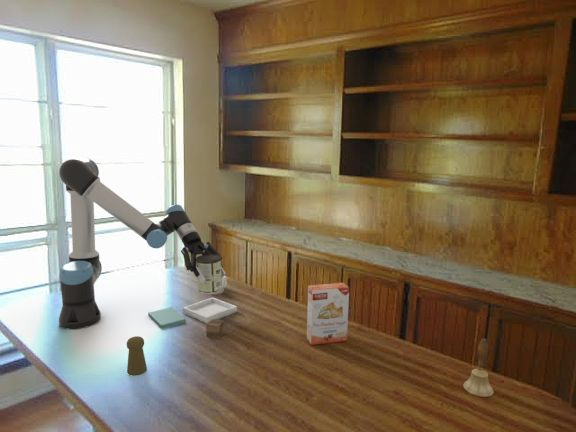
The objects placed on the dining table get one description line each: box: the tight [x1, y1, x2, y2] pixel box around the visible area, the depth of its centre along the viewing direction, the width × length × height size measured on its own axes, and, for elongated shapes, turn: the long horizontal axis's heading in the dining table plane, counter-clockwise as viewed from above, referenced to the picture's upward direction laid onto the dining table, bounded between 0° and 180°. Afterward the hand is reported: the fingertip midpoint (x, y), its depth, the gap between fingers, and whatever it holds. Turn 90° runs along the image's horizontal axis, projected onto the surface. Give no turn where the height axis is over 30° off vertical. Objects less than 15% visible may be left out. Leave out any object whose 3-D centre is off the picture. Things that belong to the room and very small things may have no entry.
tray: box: [182, 296, 238, 324], centre depth 182 cm, size 16×16×2 cm
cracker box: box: [306, 282, 350, 346], centre depth 156 cm, size 14×6×21 cm, turn 105°
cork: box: [126, 335, 148, 377], centre depth 135 cm, size 6×6×11 cm
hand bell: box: [462, 337, 494, 398], centre depth 126 cm, size 8×8×16 cm
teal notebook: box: [147, 307, 187, 330], centre depth 175 cm, size 10×15×2 cm, turn 36°
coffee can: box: [196, 254, 222, 295], centre depth 179 cm, size 10×10×14 cm
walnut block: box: [205, 319, 226, 339], centre depth 161 cm, size 5×5×5 cm
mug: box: [211, 275, 228, 296], centre depth 207 cm, size 10×8×8 cm
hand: (214, 278), depth 177 cm, fingers closed on coffee can, 10 cm apart
